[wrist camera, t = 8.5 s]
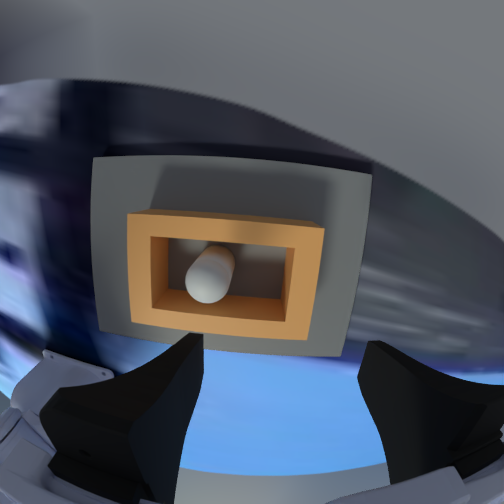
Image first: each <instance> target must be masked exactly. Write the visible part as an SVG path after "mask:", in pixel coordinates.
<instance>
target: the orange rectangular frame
mask: <svg viewBox="0 0 504 504" xmlns="http://www.w3.org/2000/svg"><path fill="white" fill-rule="evenodd" d="M323 237H324V228H323V227H321V226H319V225H318V224H316V223H314V222H312V221H304V220H294V219H284V218H273V217H262V216H251V215H238V214H225V213H211V212H197V211H180V210H162V209H146V210H141V211H137V212H132V213H128V214H127V259H128V283H129V298H130V311H131V321H132V322H135V323H141V324H147V325H153V326H159V327H166V328H173V329H180V330H187V331H195V332H203V333H212V334H222V335H232V336H243V337H255V338H270V339H288V340H307V337H308V332H309V327H310V321H311V316H312V310H313V305H314V299H315V293H316V286H317V280H318V274H319V267H320V260H321V253H322V245H323ZM169 238H182V239H194V240H207V241H219V242H231V243H243V244H255V245H267V246H278V247H287V249H286V258H285V266H284V275H283V283H282V291H281V299H270V298H257V297H245V296H233V295H225V296H224V297H223V298H222V299H220V300H219V301H217V302H214V303H202V302H199V301H197V300H195V299H194V298H193V297H192V296H191V295H190V294H189V292H188V291H184V290H175V289H168V241H169Z"/></svg>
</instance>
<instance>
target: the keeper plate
mask: <svg viewBox="0 0 504 504" xmlns="http://www.w3.org/2000/svg"><path fill="white" fill-rule="evenodd" d="M371 183H372V175H370V174H365V173H359V172H354V171H348V170H341V169H335V168H328V167H322V166H314V165H307V164H299V163H290V162H281V161H271V160H260V159H247V158H233V157H214V156H182V155H145V156H115V157H97V158H93V169H92V185H91V254H92V270H93V282H94V292H95V301H96V309H97V316H98V323H99V329H100V331H103V332H108V333H112V334H117V335H122V336H127V337H132V338H137V339H142V340H148V341H154V342H160V343H166V344H172V345H174V344H175V343H176V342H178V341H179V340H180V339H181V338H183V337H184V336H185V335H187V334H188V333H189V332H191V333H199V334H204V349H209V350H218V351H228V352H239V353H251V354H266V355H285V356H341V352H342V349H343V345H344V341H345V337H346V333H347V329H348V325H349V321H350V316H351V312H352V307H353V303H354V298H355V293H356V288H357V283H358V278H359V273H360V267H361V261H362V255H363V249H364V242H365V235H366V228H367V221H368V212H369V203H370V194H371ZM146 209H162V210H180V211H197V212H211V213H225V214H238V215H251V216H262V217H273V218H284V219H294V220H304V221H312V222H314V223H316V224H318V225H319V226H321V227H323V228H324V237H323V245H322V253H321V260H320V267H319V274H318V280H317V286H316V293H315V299H314V305H313V310H312V316H311V321H310V327H309V332H308V337H307V340H288V339H270V338H255V337H243V336H232V335H222V334H212V333H203V332H195V331H187V330H180V329H173V328H166V327H159V326H153V325H147V324H141V323H135V322H132V321H131V311H130V298H129V283H128V259H127V214H128V213H132V212H137V211H141V210H146ZM286 249H287V247H278V246H267V245H255V244H243V243H231V242H219V241H207V240H194V239H182V238H169V241H168V289H175V290H184V291H188V292H189V294H190V295H191V296H192V297H193V298H194V299H195V300H197V301H199V302H202V303H214V302H217V301H219V300H220V299H222V298H223V297H224V296H225V295H233V296H245V297H257V298H270V299H281V291H282V283H283V275H284V266H285V258H286Z"/></svg>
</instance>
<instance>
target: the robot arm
mask: <svg viewBox="0 0 504 504" xmlns="http://www.w3.org/2000/svg"><path fill="white" fill-rule="evenodd" d="M43 355H44V359H43V360H42V361H41V362H39V363H38V364H37V365H36V366H35V367H34V368H33V369H32V370H31V371H30V372H29V373H28V374H27V375H26V376H25V377H24V378H23V379H22V380H21V381H20V382H18V384H17V385H16V386H15V388H14V390H13V393H12V396H11V407H9V408H7V409H6V410H5V411H3V412H2V413H1V414H0V504H174V498H175V491H176V484H177V477H178V471H179V466H180V460H181V454H182V449H183V444H184V439H185V435H186V432H187V428H188V425H189V422H190V420H191V417H192V414H193V411H194V408H195V405H196V402H197V399H198V396H199V393H200V389H201V384H202V379H203V374H204V334H199V333H191V332H189V333H188V334H187V335H185V336H184V337H183V338H181V339H180V340H179V341H178V342H176V343H175V344H174V345H173V346H171V347H170V348H169V349H167V350H166V351H165V352H163V353H162V354H160V355H159V356H157V357H156V358H154V359H153V360H151V361H150V362H148V363H146V364H144V365H142V366H141V367H138V368H136V369H134V370H132V371H130V372H128V373H125V374H122V375H119V376H117V377H114V374H113V372H112V371H111V370H109V369H105V368H102V367H98V366H95V365H91V364H88V363H84V362H81V361H78V360H75V359H72V358H69V357H66V356H63V355H60V354H57V353H54V352H52V351H49V350H46V349H45V350H44V351H43ZM357 379H358V383H359V386H360V390H361V393H362V396H363V398H364V400H365V403H366V405H367V407H368V409H369V412H370V414H371V416H372V418H373V420H374V423H375V425H376V427H377V429H378V432H379V435H380V437H381V441H382V444H383V448H384V452H385V456H386V461H387V465H388V471H389V478H390V484H391V485H388V486H385V487H381V488H376V489H372V490H368V491H363V492H359V493H356V494H352V495H348V496H344V497H340V498H338V499H335V500H333V501H330V502H328V503H325V504H501V503H502V502H503V501H504V442H502V441H501V440H500V438H501V437H502V436H503V433H502V432H501V431H500V429H501V427H502V426H503V424H504V385H490V384H482V383H476V382H471V381H466V380H463V379H459V378H456V377H452V376H449V375H447V374H444V373H442V372H439V371H437V370H434V369H432V368H430V367H428V366H426V365H424V364H422V363H420V362H418V361H417V360H415V359H413V358H411V357H409V356H408V355H406V354H404V353H403V352H401V351H399V350H397V349H396V348H394V347H392V346H390V345H388V344H387V343H385V342H382V341H380V340H379V341H368V343H367V347H366V350H365V353H364V357H363V360H362V363H361V366H360V369H359V373H358V376H357Z"/></svg>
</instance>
